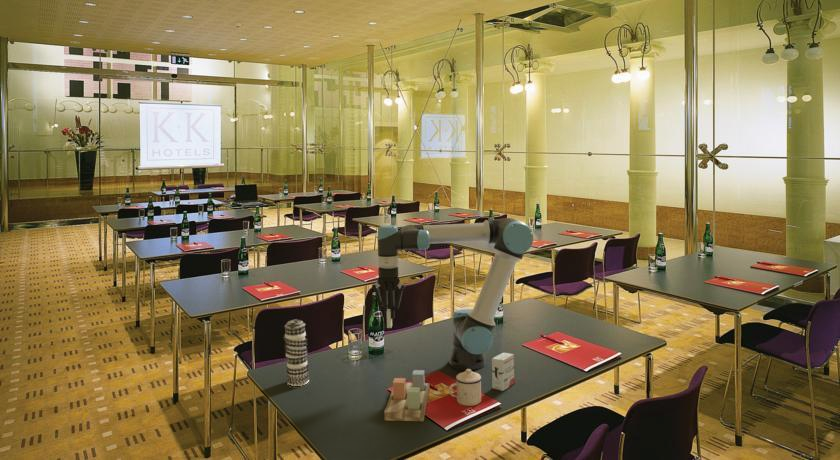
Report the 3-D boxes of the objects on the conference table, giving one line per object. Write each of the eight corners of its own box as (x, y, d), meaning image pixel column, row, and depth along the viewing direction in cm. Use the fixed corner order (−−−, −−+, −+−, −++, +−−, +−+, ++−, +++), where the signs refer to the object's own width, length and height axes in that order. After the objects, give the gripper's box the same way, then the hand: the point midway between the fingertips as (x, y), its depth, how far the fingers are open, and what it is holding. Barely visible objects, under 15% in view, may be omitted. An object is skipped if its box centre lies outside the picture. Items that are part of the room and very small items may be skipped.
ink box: (503, 380, 216) (503, 351, 215) (514, 383, 213) (514, 354, 212) (491, 388, 210) (491, 357, 208) (502, 391, 207) (502, 360, 205)
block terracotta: (406, 394, 200) (405, 378, 199) (404, 399, 196) (404, 382, 195) (395, 394, 200) (394, 378, 199) (393, 399, 196) (392, 382, 195)
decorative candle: (289, 378, 225) (285, 318, 222) (312, 377, 225) (309, 317, 221) (283, 387, 216) (279, 325, 212) (307, 387, 216) (303, 324, 212)
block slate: (424, 386, 206) (424, 370, 206) (423, 390, 203) (423, 374, 202) (414, 386, 207) (413, 370, 206) (412, 390, 203) (412, 374, 202)
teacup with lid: (475, 393, 205) (475, 363, 204) (485, 404, 197) (485, 372, 195) (445, 398, 202) (444, 368, 200) (454, 409, 193) (453, 377, 192)
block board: (429, 390, 209) (429, 383, 209) (423, 421, 186) (423, 412, 185) (395, 390, 211) (395, 382, 210) (384, 420, 187) (384, 411, 187)
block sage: (420, 404, 192) (420, 387, 191) (419, 409, 188) (418, 392, 187) (409, 404, 192) (408, 387, 191) (407, 409, 188) (406, 392, 187)
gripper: (369, 268, 208) (370, 329, 212) (403, 268, 206) (404, 330, 210) (373, 264, 216) (375, 323, 219) (407, 264, 214) (408, 324, 217)
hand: (389, 326), depth 214 cm, fingers closed
